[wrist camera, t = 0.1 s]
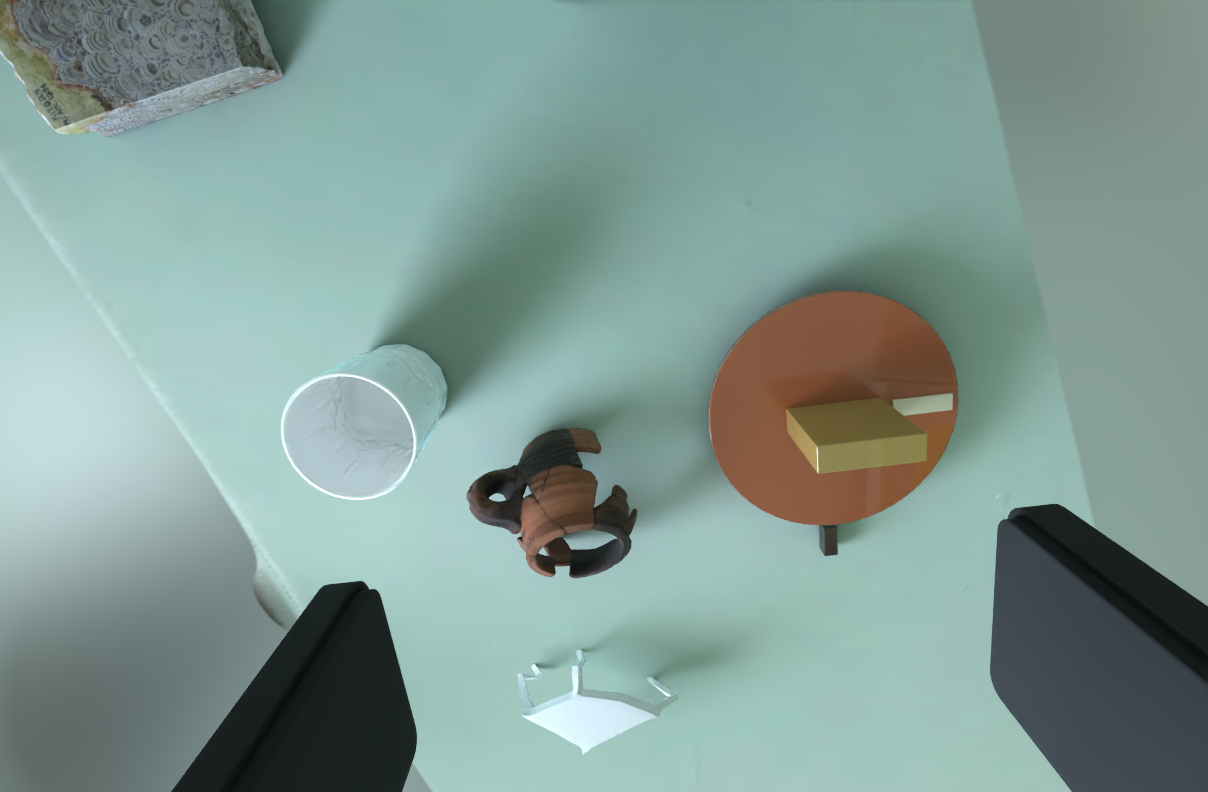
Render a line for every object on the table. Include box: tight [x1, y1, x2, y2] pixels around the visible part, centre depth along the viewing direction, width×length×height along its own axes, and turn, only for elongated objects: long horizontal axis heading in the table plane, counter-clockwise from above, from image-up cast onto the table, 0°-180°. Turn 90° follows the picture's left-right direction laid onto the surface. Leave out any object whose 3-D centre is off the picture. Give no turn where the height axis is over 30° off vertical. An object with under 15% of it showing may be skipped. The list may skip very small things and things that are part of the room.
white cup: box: [281, 344, 448, 500], centre depth 42 cm, size 8×8×10 cm
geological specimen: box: [0, 0, 283, 137], centre depth 38 cm, size 11×6×15 cm
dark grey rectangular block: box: [819, 524, 838, 556], centre depth 48 cm, size 17×10×2 cm, turn 8°
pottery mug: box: [467, 428, 637, 578], centre depth 47 cm, size 12×10×8 cm
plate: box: [708, 290, 958, 525], centre depth 42 cm, size 17×17×8 cm
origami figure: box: [517, 649, 679, 755], centre depth 52 cm, size 12×8×5 cm
